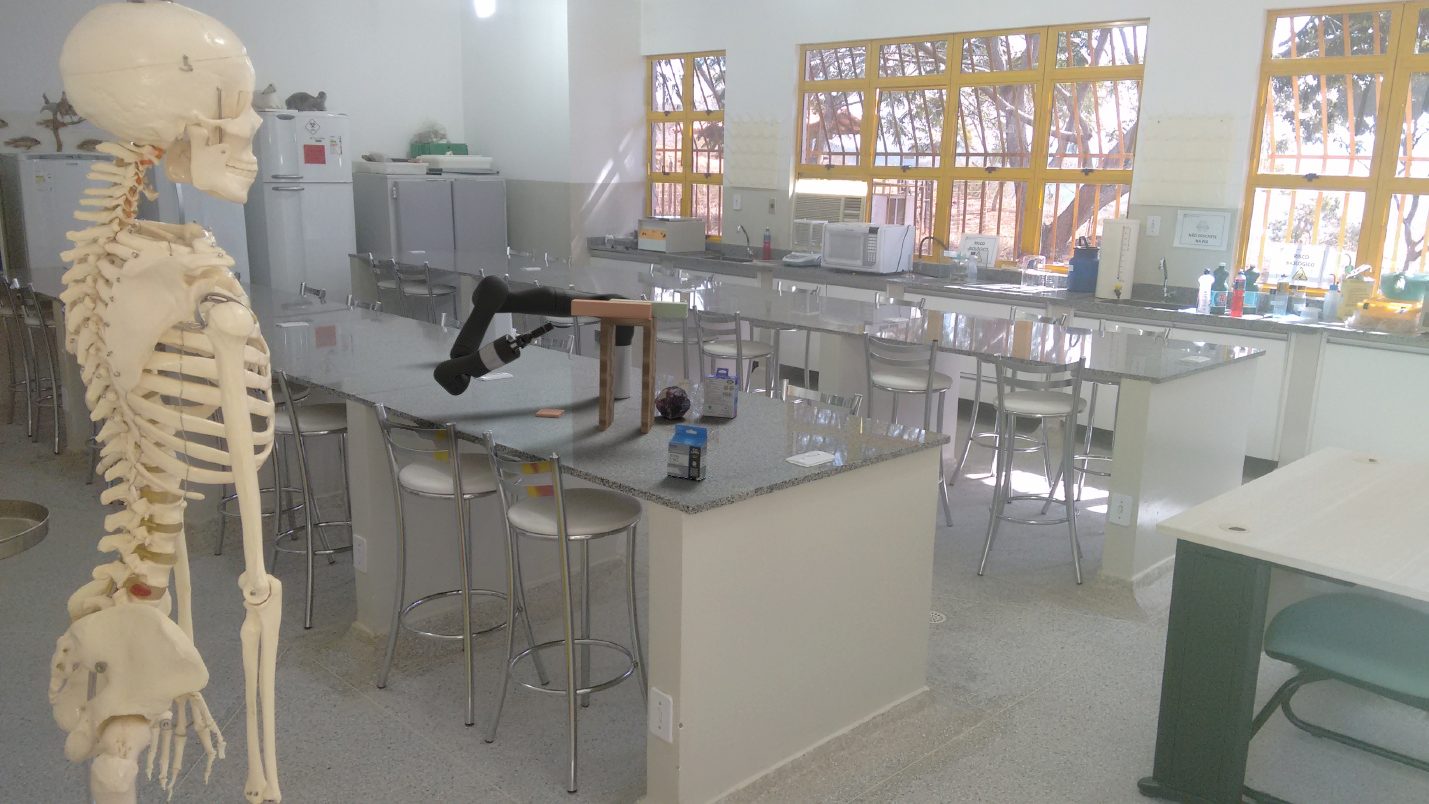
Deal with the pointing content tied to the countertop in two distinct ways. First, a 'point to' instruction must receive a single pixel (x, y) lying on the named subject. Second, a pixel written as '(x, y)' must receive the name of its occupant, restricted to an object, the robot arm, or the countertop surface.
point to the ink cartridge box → (720, 395)
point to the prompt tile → (549, 413)
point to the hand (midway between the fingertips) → (548, 327)
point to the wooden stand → (609, 369)
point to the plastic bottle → (496, 326)
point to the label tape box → (687, 452)
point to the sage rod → (664, 308)
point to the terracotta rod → (611, 309)
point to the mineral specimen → (672, 402)
